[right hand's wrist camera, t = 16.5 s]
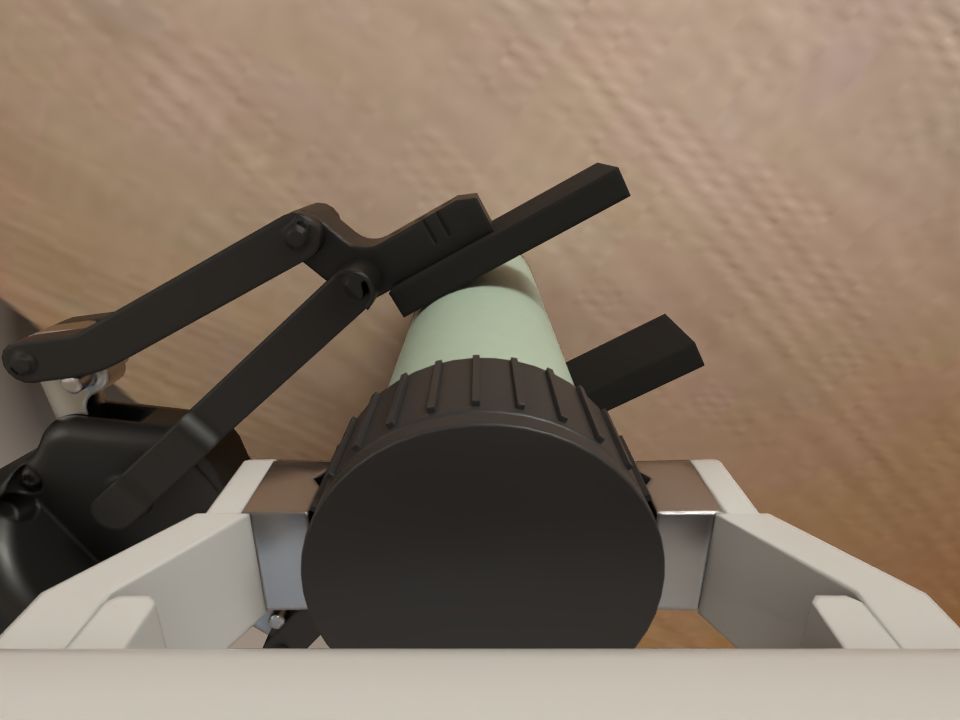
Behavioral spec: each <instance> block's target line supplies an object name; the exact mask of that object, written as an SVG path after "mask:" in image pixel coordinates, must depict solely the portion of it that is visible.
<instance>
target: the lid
mask: <svg viewBox="0 0 960 720" xmlns="http://www.w3.org/2000/svg"><path fill="white" fill-rule="evenodd" d="M649 500H652V497H651V495H650V493H649V491H648V489H647V487H646V484H645V482H644V480H643V478H642V476H641V474H640V472H639V470H638V468H637V466H636V464H635V462H634V459H633V457H632V455H631V453H630V451H629V449H628V447H627V445H626V443H625V441H624V439H623V436H622V435H621V436H619V435H618V433H617V431H616V429H615V427H614V424H613V422H612V420H611V418H610V416H609V414H608V412H607V411H606V409H605V408H603V409H602V410H600V409H599V407H598V406H597V405H596V404H595V403H594V402H593V401H592V400H591V399H590V398H589V397H588V396H587V395H586V393H585V390H584V388H583V387H582V386H580V385H578V386H577V387H575V386H574V385H572V384H571V383H569V382H568V381H566V380H564V379H562V378H561V377H559V376H557V375H555V374H554V371H553V369H550V368H548V367H547V369H546V370H544V369H541V368H539V367H536V366H533V365H529V364H526V363H522V362H518V359H517V358H514V357H511V359H510V360H506V359H499V358H480V355H473V358H467V359H458V360H451V361H447V362H442V360H438V361H435V364H434V365H431V366H429V367H426V368H423V369H421V370H418V371H415V372H413V373H411V374H410V375H408V374H407V372H406V373H404V374H402V375H401V377H400V380H398V381H397V382H395V383H394V384H392V385H391V386H390V387H388V388H387V389H385V390H384V391H383V392H381V393H380V394H378V393H377V392H375V393H374V394H373V395H372V397H371V399H370V402H369V404H368V406H367V407H366V408H365V409H364V411H363V412H362V413H361V414H360V416H359V417H358V418H355V417H353V418H352V419H351V420H350V423H349V425H348V427H347V429H346V432H345V434H344V436H343V438H342V441H341V443H340V445H338V446H337V449H336V451H335V453H334V455H333V458H332V460H331V462H330V464H329V466H328V469H327V471H326V473H325V475H324V478H323V480H322V482H321V484H320V486H319V489H318V491H317V493H316V495H315V498H314V500H313V502H312V504H311V507H310V511H313V512H314V514H313V516H312V519H311V521H310V524H309V527H308V529H307V532H306V534H305V539H304V544H303V548H302V553H301V580H302V589H303V594H304V598H305V601H306V605H307V608H308V611H309V614H310V616H311V618H312V620H313V622H314V624H315V626H316V629H317V630H318V632H319V633H320V635H321V636H322V638H323V639H324V641H325V642H326V644H327V645H328V646H329V647H330V648H331V649H634V648H635V647H636V646H637V645H638V643H639V642H640V640H641V639H642V637H643V636H644V635H645V633H646V632H647V630H648V628H649V626H650V624H651V622H652V620H653V618H654V616H655V614H656V611H657V608H658V605H659V602H660V599H661V596H662V590H663V584H664V578H665V555H664V549H663V543H662V538H661V535H660V532H659V529H658V526H657V523H656V520H655V518H654V515H653V513H652V511H651V509H650V507H649V505H648V503H647V501H649Z"/></svg>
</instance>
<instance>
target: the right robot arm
mask: <svg viewBox="0 0 960 720" xmlns="http://www.w3.org/2000/svg"><path fill="white" fill-rule="evenodd" d="M330 462H331V461H327V460H276V459H254V460H246V461H244V462H243V463H242V464H241V466H240V467H239V469H238V470H237V471H236V473H235V474H234V475H233V477H232V478H231V479H230V481H229V482H228V484H227V485H226V486H225V488H224V489H223V490H222V492H221V493H220V494H219V496H218V497H217V499H216V500H215V501H214V503H213V504H212V505H211V507H210V508H209V509H208V511H207V512H206V513H201V514H194V515H192V516H190V517H189V518H187V519H185V520H183V521H181V522H179V523H177V524H175V525H173V526H171V527H169V528H167V529H165V530H163V531H161V532H159V533H157V534H155V535H153V536H151V537H149V538H147V539H145V540H144V541H142V542H140V543H138V544H136V545H134V546H132V547H130V548H128V549H126V550H124V551H122V552H120V553H118V554H116V555H114V556H112V557H110V558H108V559H106V560H104V561H102V562H100V563H98V564H97V565H95V566H93V567H91V568H89V569H87V570H85V571H83V572H81V573H79V574H77V575H75V576H73V577H71V578H69V579H67V580H65V581H63V582H61V583H59V584H57V585H55V586H53V587H51V588H50V589H48V590H46V591H44V592H42V593H40V594H39V595H38V597H37V598H36V599H35V600H34V601H33V602H32V603H31V604H30V605H29V606H28V607H27V608H26V609H25V610H24V611H23V612H22V613H21V614H20V615H19V616H18V617H17V618H16V619H15V620H14V621H13V622H12V623H11V625H10V626H9V627H8V628H7V629H6V630H5V631H4V632H3V633H2V634H1V635H0V720H960V628H959V627H958V626H957V625H956V624H955V623H954V621H953V620H952V619H951V618H950V617H949V616H948V615H947V614H946V613H945V612H944V611H943V610H942V609H941V608H940V607H939V606H938V605H937V604H936V603H935V602H934V601H933V600H932V599H931V598H930V597H929V596H928V595H927V594H926V593H924V592H922V591H920V590H918V589H916V588H914V587H912V586H910V585H908V584H906V583H904V582H902V581H900V580H899V579H897V578H895V577H893V576H891V575H889V574H887V573H885V572H883V571H881V570H879V569H877V568H875V567H873V566H871V565H869V564H867V563H865V562H863V561H861V560H859V559H857V558H855V557H853V556H851V555H849V554H847V553H845V552H843V551H841V550H840V549H838V548H836V547H834V546H832V545H830V544H828V543H826V542H824V541H822V540H820V539H818V538H816V537H814V536H812V535H810V534H808V533H806V532H804V531H802V530H800V529H798V528H796V527H794V526H792V525H790V524H788V523H786V522H784V521H782V520H780V519H779V518H777V517H775V516H773V515H771V514H764V513H759V512H758V511H757V510H756V508H755V507H754V506H753V504H752V503H751V502H750V500H749V499H748V498H747V496H746V495H745V494H744V492H743V491H742V490H741V488H740V487H739V486H738V484H737V483H736V482H735V480H734V479H733V478H732V476H731V475H730V474H729V472H728V471H727V470H726V468H725V467H724V466H723V464H722V463H721V462H720V461H718V460H716V459H700V460H662V461H634V462H635V464H636V466H637V468H638V470H639V472H640V474H641V476H642V478H643V480H644V482H645V484H646V487H647V489H648V491H649V493H650V495H651V497H652V500H649V501H647V503H648V505H649V507H650V509H651V511H652V513H653V515H654V518H655V520H656V523H657V526H658V529H659V532H660V535H661V538H662V543H663V549H664V555H665V578H664V584H663V590H662V596H661V599H660V602H659V605H658V608H657V609H662V610H699V611H698V613H699V614H700V615H701V616H702V617H703V618H704V619H706V620H707V621H708V622H709V623H710V624H711V625H712V626H713V627H714V628H715V629H717V630H718V631H719V632H720V633H721V634H722V635H723V636H724V637H725V638H726V639H728V640H729V641H730V642H731V643H732V644H733V645H734V646H735V647H736V648H737V649H228V648H229V647H230V646H231V645H232V644H233V643H234V642H235V641H237V640H238V639H239V638H240V637H241V636H242V635H243V634H244V633H245V632H246V631H247V630H249V629H250V628H251V627H252V626H253V625H254V624H255V623H256V622H257V621H258V620H260V619H261V618H262V617H263V616H264V615H265V614H266V610H301V609H308V608H307V605H306V601H305V598H304V594H303V589H302V580H301V553H302V548H303V544H304V539H305V534H306V532H307V529H308V527H309V524H310V521H311V519H312V516H313V514H314V512H313V511H310V507H311V504H312V502H313V500H314V498H315V495H316V493H317V491H318V489H319V486H320V484H321V482H322V480H323V478H324V475H325V473H326V471H327V469H328V466H329V464H330Z"/></svg>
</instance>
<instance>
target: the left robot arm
mask: <svg viewBox="0 0 960 720" xmlns="http://www.w3.org/2000/svg"><path fill="white" fill-rule="evenodd" d="M629 196H631V195H630V193H629V191H628V189H627V186H626V184H625V182H624V179H623V177H622V175H621V173H620V170H619V168H618V167H614V166H610V165H605V164H601V163H596V164H594V165H592V166H590V167H589V168H587V169H585V170H583V171H581V172H580V173H578V174H576V175H574V176H572V177H571V178H569V179H567V180H565V181H563V182H562V183H560V184H558V185H556V186H554V187H553V188H551V189H549V190H547V191H545V192H544V193H542V194H540V195H538V196H536V197H535V198H533V199H531V200H529V201H527V202H525V203H524V204H522V205H520V206H518V207H516V208H515V209H513V210H511V211H509V212H507V213H506V214H504V215H502V216H500V217H498V218H497V219H495V220H493V221H492V220H491V219H490V217H489V215H488V213H487V211H486V209H485V207H484V205H483V203H482V202H481V200H480V198H479V196H478V194H477V193H473V194H465V195H458V196H456V197H454V198H452V199H451V200H449V201H447V202H445V203H444V204H442V205H440V206H438V207H437V208H435V209H433V210H431V211H430V212H428V213H426V214H424V215H423V216H421V217H419V218H417V219H416V220H414V221H412V222H410V223H408V224H407V225H405V226H403V227H401V228H400V229H398V230H396V231H394V232H393V233H391V234H389V235H387V236H385V237H383V238H378V239H371V238H366V237H363V236H361V235H359V234H358V233H356V232H355V231H354V230H352V229H351V228H350V227H349V226H348V225H346V224H345V223H344V222H343V221H342V220H341V219H340V217H339V214H338V213H337V212H336V211H335V209H334V208H333V207H331V206H329V205H327V204H325V203H315V204H311V205H309V206H306V207H303V208H301V209H298V210H296V211H293V212H291V213H289V214H286V215H283V216H282V217H280V218H278V219H276V220H275V221H273V222H271V223H269V224H268V225H266V226H264V227H262V228H261V229H259V230H257V231H255V232H254V233H252V234H250V235H248V236H247V237H245V238H243V239H241V240H240V241H238V242H236V243H234V244H233V245H231V246H229V247H227V248H226V249H224V250H222V251H220V252H219V253H217V254H215V255H213V256H212V257H210V258H208V259H206V260H205V261H203V262H201V263H199V264H198V265H196V266H194V267H192V268H191V269H189V270H187V271H185V272H184V273H182V274H180V275H178V276H177V277H175V278H173V279H171V280H170V281H168V282H166V283H164V284H163V285H161V286H159V287H157V288H156V289H154V290H152V291H150V292H149V293H147V294H145V295H143V296H142V297H140V298H138V299H136V300H135V301H133V302H131V303H129V304H128V305H126V306H124V307H122V308H121V309H119V310H117V311H115V312H109V313H101V314H94V315H86V316H78V317H72V318H70V319H67V320H64V321H62V322H60V323H58V324H55V325H53V326H50V327H48V328H46V329H44V330H41V331H39V332H37V333H35V334H32V335H30V336H28V337H26V338H24V339H21V340H19V341H17V342H15V343H12V344H10V345H8V346H7V347H6V348H5V349H4V350H3V354H2V361H3V365H4V367H5V368H6V370H7V371H8V373H9V374H10V375H12V376H13V377H14V378H16V379H17V380H20V381H22V382H26V383H37V382H41V385H42V387H43V389H44V391H45V394H46V396H47V398H48V401H49V403H50V405H51V407H52V410H53V412H54V414H55V416H56V419H57V420H56V421H54V422H53V423H52V424H51V425H50V426H49V427H48V428H47V429H46V430H45V432H44V434H43V436H42V439H41V441H40V444H39V446H38V448H36V449H35V450H33V451H31V452H29V453H28V454H26V455H24V456H22V457H20V458H19V459H17V460H15V461H13V462H12V463H10V464H8V465H6V466H4V467H3V468H1V469H0V635H1V634H2V633H3V632H4V631H5V630H6V629H7V628H8V627H9V626H10V625H11V623H12V622H13V621H14V620H15V619H16V618H17V617H18V616H19V615H20V614H21V613H22V612H23V611H24V610H25V609H26V608H27V607H28V606H29V605H30V604H31V603H32V602H33V601H34V600H35V599H36V598H37V597H38V595H39V594H40V593H42V592H44V591H46V590H48V589H50V588H51V587H53V586H55V585H57V584H59V583H61V582H63V581H65V580H67V579H69V578H71V577H73V576H75V575H77V574H79V573H81V572H83V571H85V570H87V569H89V568H91V567H93V566H95V565H97V564H98V563H100V562H102V561H104V560H106V559H108V558H110V557H112V556H114V555H116V554H118V553H120V552H122V551H124V550H126V549H128V548H130V547H132V546H134V545H136V544H138V543H140V542H142V541H144V540H145V539H147V538H149V537H151V536H153V535H155V534H157V533H159V532H161V531H163V530H165V529H167V528H169V527H171V526H173V525H175V524H177V523H179V522H181V521H183V520H185V519H187V518H189V517H190V516H192V515H194V514H201V513H206V512H207V511H208V509H209V508H210V507H211V505H212V504H213V503H214V501H215V500H216V499H217V497H218V496H219V494H220V493H221V492H222V490H223V489H224V488H225V486H226V485H227V484H228V482H229V481H230V479H231V478H232V477H233V475H234V474H235V473H236V471H237V470H238V469H239V467H240V466H241V464H242V463H243V462H244V461H246V460H252V459H251V458H250V457H249V456H248V454H247V451H246V449H245V447H244V445H243V442H242V440H241V438H240V436H239V435H238V433H237V432H236V431H235V429H234V427H236V426H237V425H238V424H239V423H240V422H241V421H242V420H243V419H244V418H246V417H247V416H248V415H249V414H250V413H251V412H252V411H253V410H254V409H255V408H257V407H258V406H259V405H260V404H261V403H262V402H263V401H264V400H265V399H267V398H268V397H269V396H270V395H271V394H272V393H273V392H274V391H275V390H276V389H278V388H279V387H280V386H281V385H282V384H283V383H284V382H285V381H286V380H288V379H289V378H290V377H291V376H292V375H293V374H294V373H295V372H296V371H297V370H299V369H300V368H301V367H302V366H303V365H304V364H305V363H306V362H307V361H309V360H310V359H311V358H312V357H313V356H314V355H315V354H316V353H317V352H318V351H320V350H321V349H322V348H323V347H324V346H325V345H326V344H327V343H328V342H330V341H331V340H332V339H333V338H334V337H335V336H336V335H337V334H338V333H339V332H341V331H342V330H343V329H344V328H345V327H346V326H347V325H348V324H349V323H351V322H352V321H353V320H354V319H355V318H356V317H357V316H358V315H359V314H360V313H362V312H363V311H364V310H365V309H367V310H368V309H369V308H370V306H371V305H372V304H373V302H374V301H375V299H376V298H377V297H379V296H380V295H382V294H384V293H386V292H388V291H390V290H391V291H390V292H389V294H390V296H391V297H392V299H393V301H394V302H395V304H396V306H397V307H398V309H399V310H400V312H401V314H402V315H403V317H406V316H408V315H409V314H411V313H413V312H415V311H417V310H419V309H421V308H422V307H424V306H426V305H428V304H430V303H432V302H434V301H436V300H437V299H439V298H441V297H443V296H445V295H447V294H449V293H450V292H452V291H454V290H456V289H458V288H460V287H462V286H463V285H465V284H467V283H469V282H471V281H473V280H475V279H476V278H478V277H480V276H482V275H484V274H486V273H488V272H490V271H491V270H493V269H495V268H497V267H499V266H501V265H503V264H504V263H506V262H508V261H510V260H512V259H514V258H516V257H517V256H519V255H521V254H523V253H525V252H527V251H529V250H530V249H532V248H534V247H536V246H538V245H540V244H542V243H544V242H545V241H547V240H549V239H551V238H553V237H555V236H557V235H558V234H560V233H562V232H564V231H566V230H568V229H570V228H571V227H573V226H575V225H577V224H579V223H581V222H583V221H584V220H586V219H588V218H590V217H592V216H594V215H596V214H598V213H599V212H601V211H603V210H605V209H607V208H609V207H611V206H612V205H614V204H616V203H618V202H620V201H622V200H624V199H625V198H627V197H629ZM301 262H304V263H305V264H306V265H308V266H309V267H310V268H311V269H313V270H314V271H315V272H316V273H318V274H319V275H320V276H321V277H323V278H324V279H325V280H326V282H325V283H324V284H323V285H322V286H321V287H320V288H319V289H318V290H317V291H316V292H315V293H314V294H313V295H311V296H310V297H309V298H308V299H307V300H306V301H305V302H304V303H303V304H302V305H301V306H300V307H299V308H298V309H297V310H296V311H294V312H293V313H292V314H291V315H290V316H289V317H288V318H287V319H286V320H285V321H284V322H283V323H282V324H281V325H280V326H279V327H277V328H276V329H275V330H274V331H273V332H272V333H271V334H270V335H269V336H268V337H267V338H266V339H265V340H264V341H263V342H262V343H261V344H259V345H258V346H257V347H256V348H255V349H254V350H253V351H252V352H251V353H250V354H249V355H248V356H247V357H246V358H245V359H244V360H242V361H241V362H240V363H239V364H238V365H237V366H236V367H235V368H234V369H233V370H232V371H231V372H230V373H229V374H228V375H227V376H226V377H224V378H223V379H222V380H221V381H220V382H219V383H218V384H217V385H216V386H215V387H214V388H213V389H212V390H211V391H210V392H209V393H207V394H206V395H205V396H204V397H203V398H202V399H201V400H200V401H199V402H198V403H197V404H196V405H195V406H194V407H193V408H192V409H191V410H187V409H179V408H170V407H161V406H152V405H144V404H135V403H126V402H117V401H109V400H105V398H104V391H105V389H106V388H107V387H108V386H110V385H111V384H113V383H114V382H116V381H117V380H119V379H120V378H121V377H122V376H123V375H124V373H125V368H126V366H125V363H126V362H127V361H128V358H129V357H131V356H133V355H134V354H136V353H138V352H140V351H142V350H143V349H145V348H147V347H149V346H151V345H153V344H154V343H156V342H158V341H160V340H162V339H163V338H165V337H167V336H169V335H171V334H172V333H174V332H176V331H178V330H180V329H182V328H183V327H185V326H187V325H189V324H191V323H192V322H194V321H196V320H198V319H200V318H202V317H203V316H205V315H207V314H209V313H211V312H212V311H214V310H216V309H218V308H220V307H221V306H223V305H225V304H227V303H229V302H231V301H232V300H234V299H236V298H238V297H240V296H241V295H243V294H245V293H247V292H249V291H251V290H252V289H254V288H256V287H258V286H260V285H261V284H263V283H265V282H267V281H269V280H270V279H272V278H274V277H276V276H278V275H280V274H281V273H283V272H285V271H287V270H289V269H290V268H292V267H294V266H296V265H298V264H300V263H301ZM566 365H567V368H568V370H569V373H570V376H571V378H572V381H573V383H574V386H575V387H577V386H578V385H580V386H582V387H583V388H584V390H585V393H586V395H587V396H588V397H589V398H590V399H591V400H592V401H593V402H594V403H595V404H596V405H597V406H598V407H599V409H600V410H602V409H603V408H605V409H606V411H608V410H611V409H613V408H615V407H617V406H619V405H621V404H623V403H626V402H628V401H630V400H632V399H634V398H636V397H638V396H640V395H643V394H645V393H647V392H649V391H651V390H653V389H655V388H657V387H660V386H662V385H664V384H666V383H668V382H670V381H672V380H675V379H677V378H679V377H681V376H683V375H685V374H687V373H689V372H692V371H694V370H696V369H698V368H700V367H702V366H704V363H703V360H702V358H701V356H700V353H699V351H698V349H697V347H696V344H695V342H694V341H693V340H692V339H691V338H690V337H688V336H687V335H686V334H685V333H684V332H683V331H682V330H681V329H680V328H679V327H678V326H677V325H676V324H675V323H674V322H673V321H672V320H671V319H670V318H669V317H668V316H667V315H666V314H664V315H662V316H660V317H658V318H656V319H653V320H651V321H649V322H647V323H645V324H643V325H641V326H639V327H637V328H635V329H633V330H631V331H629V332H627V333H625V334H623V335H621V336H619V337H617V338H615V339H613V340H611V341H609V342H607V343H605V344H603V345H601V346H599V347H597V348H595V349H592V350H590V351H588V352H586V353H584V354H582V355H580V356H578V357H576V358H574V359H572V360H570V361H568V362H566ZM253 626H254V627H255V628H257V629H259V630H260V631H262V632H264V633H266V634H267V635H268V637H267V639H266V642H265V644H264V646H263V649H307V648H308V647H309V646H310V645H311V644H312V643H313V642H314V641H315V640H316V639H317V638H318V637H319V636H320V633H319V632H318V630H317V629H316V626H315V624H314V622H313V620H312V618H311V616H310V614H309V611H308V609H301V610H266V614H265V615H264V616H263V617H262V618H261V619H260V620H258V621H257V622H256V623H255V624H254V625H253Z"/></svg>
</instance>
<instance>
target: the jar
mask: <svg viewBox="0 0 960 720" xmlns="http://www.w3.org/2000/svg"><path fill="white" fill-rule="evenodd" d="M473 355H480V358H499V359H506V360H510V359H511V357H514V358H517V359H518V362H522V363H526V364H529V365H533V366H536V367H539V368H541V369H544V370H546V369H547V367H548V368H550V369H553V371H554V374H555V375H557V376H559V377H561V378H562V379H564V380H566V381H568V382H569V383H571V384H572V385H574V383H573V381H572V378H571V376H570V373H569V370H568V368H567V365H566V363H565V360H564V357H563V355H562V352H561V349H560V347H559V344H558V342H557V339H556V336H555V334H554V331H553V328H552V326H551V323H550V321H549V318H548V315H547V313H546V310H545V307H544V305H543V302H542V300H541V297H540V294H539V292H538V289H537V286H536V284H535V281H534V279H533V276H532V273H531V271H530V269H529V267H528V265H527V264H526V262H525V261H524V259H523V258H522V257H521V256H520V255H519V256H517V257H516V258H514V259H512V260H510V261H508V262H506V263H504V264H503V265H501V266H499V267H497V268H495V269H493V270H491V271H490V272H488V273H486V274H484V275H482V276H480V277H478V278H476V279H475V280H473V281H471V282H469V283H467V284H465V285H463V286H462V287H460V288H458V289H456V290H454V291H452V292H450V293H449V294H447V295H445V296H443V297H441V298H439V299H437V300H436V301H434V302H432V303H430V304H428V305H426V306H424V307H422V308H421V309H419V310H417V311H415V313H414V316H413V319H412V322H411V324H410V327H409V330H408V333H407V336H406V338H405V341H404V344H403V347H402V349H401V352H400V355H399V358H398V361H397V363H396V366H395V369H394V372H393V375H392V377H391V380H390V383H389V386H388V387H390V386H391V385H392V384H394V383H395V382H397V381H398V380H400V377H401V375H402V374H404V373H406V372H407V374H408V375H410V374H411V373H413V372H415V371H418V370H421V369H423V368H426V367H429V366H431V365H434V364H435V361H438V360H442V362H447V361H451V360H458V359H467V358H473Z"/></svg>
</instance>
